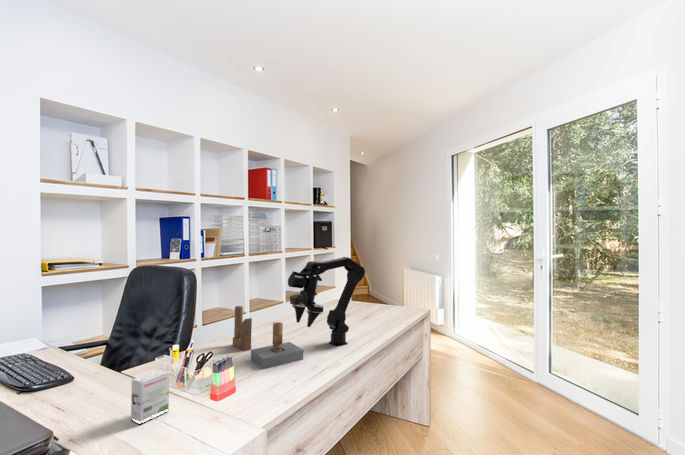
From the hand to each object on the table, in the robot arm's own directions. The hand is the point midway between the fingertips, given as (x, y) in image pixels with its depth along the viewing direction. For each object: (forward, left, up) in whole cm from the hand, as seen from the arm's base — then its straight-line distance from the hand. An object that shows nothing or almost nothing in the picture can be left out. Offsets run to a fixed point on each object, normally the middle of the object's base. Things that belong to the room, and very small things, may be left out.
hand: (303, 324), depth 153 cm
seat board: (+13, +2, -12) cm, 18 cm away
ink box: (+62, +21, -12) cm, 67 cm away
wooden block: (+20, -20, -12) cm, 31 cm away
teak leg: (+13, +2, -11) cm, 17 cm away
